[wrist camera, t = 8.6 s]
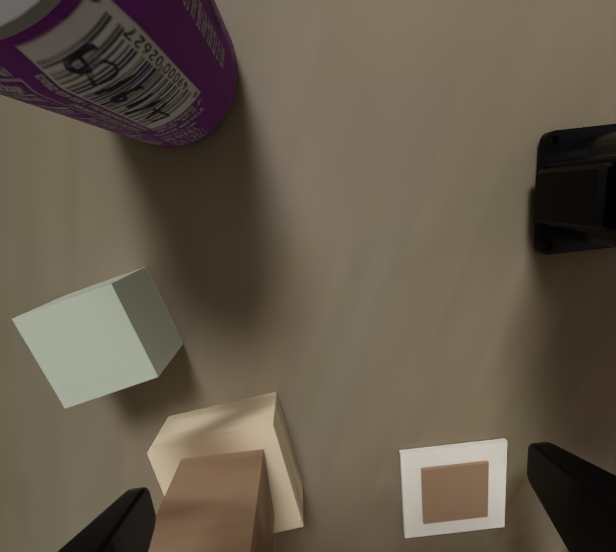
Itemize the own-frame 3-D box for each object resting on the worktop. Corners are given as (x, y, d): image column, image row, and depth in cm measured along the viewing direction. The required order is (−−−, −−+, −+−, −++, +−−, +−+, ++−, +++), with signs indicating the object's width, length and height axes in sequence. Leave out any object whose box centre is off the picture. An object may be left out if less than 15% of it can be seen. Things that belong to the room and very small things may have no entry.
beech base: (276, 388, 22) (273, 424, 18) (302, 478, 23) (303, 526, 20) (170, 413, 22) (147, 453, 19) (203, 500, 24) (187, 552, 20)
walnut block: (274, 516, 20) (265, 650, 14) (196, 525, 20) (154, 664, 14) (263, 449, 19) (248, 563, 13) (181, 458, 19) (128, 578, 13)
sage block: (148, 265, 20) (111, 283, 16) (184, 342, 21) (158, 377, 17) (67, 294, 20) (11, 318, 16) (108, 368, 21) (64, 408, 17)
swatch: (504, 438, 23) (508, 443, 22) (501, 522, 24) (506, 529, 24) (398, 450, 23) (401, 455, 22) (403, 534, 24) (405, 541, 24)
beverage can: (249, 8, 17) (135, -427, 5) (230, 160, 18) (109, 103, 7) (98, -25, 16) (-425, -597, 4) (92, 134, 18) (-305, 20, 6)
